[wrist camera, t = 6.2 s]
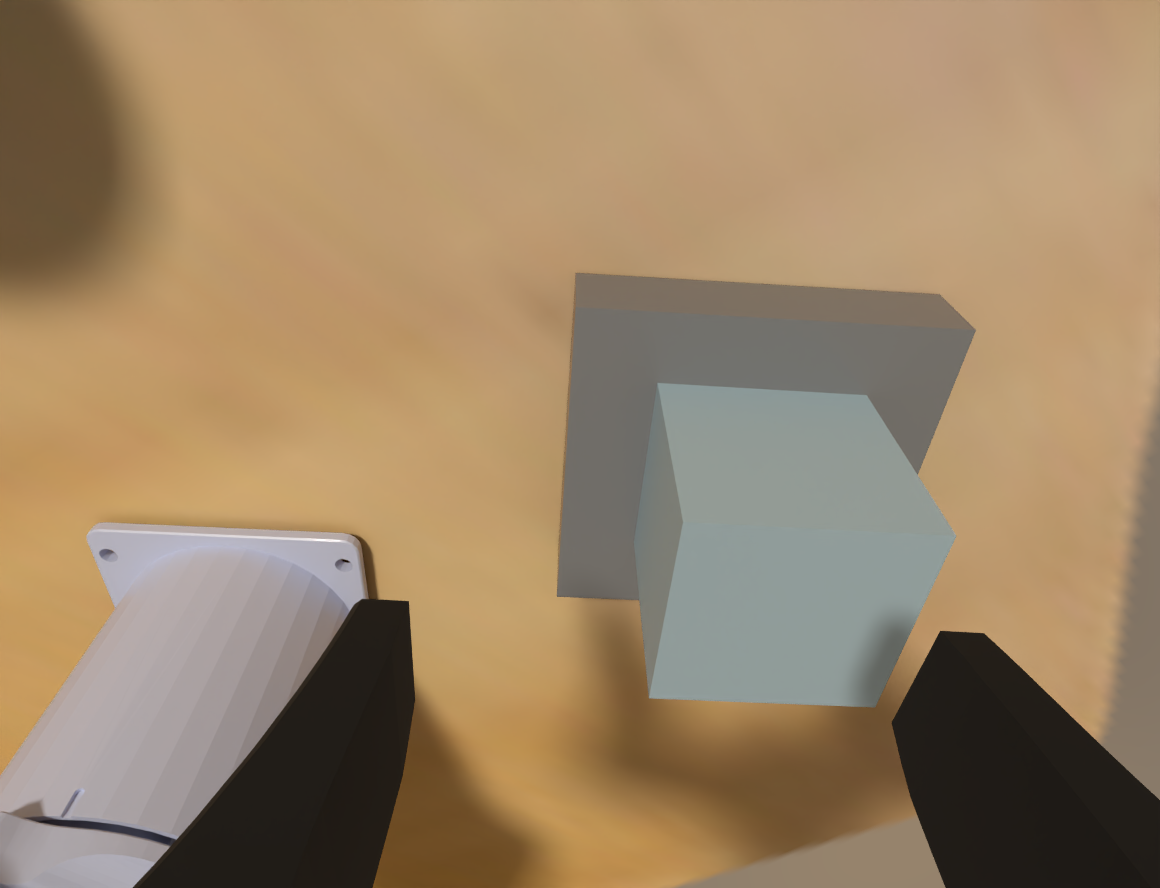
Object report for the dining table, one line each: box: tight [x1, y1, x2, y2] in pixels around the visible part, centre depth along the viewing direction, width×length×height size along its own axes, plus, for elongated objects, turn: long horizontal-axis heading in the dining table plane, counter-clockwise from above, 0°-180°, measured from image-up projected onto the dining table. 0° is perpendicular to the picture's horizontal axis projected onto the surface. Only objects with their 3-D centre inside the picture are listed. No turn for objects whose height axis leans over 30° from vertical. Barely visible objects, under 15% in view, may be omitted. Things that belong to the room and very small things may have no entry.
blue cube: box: [634, 383, 956, 707], centre depth 17 cm, size 5×5×5 cm
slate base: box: [557, 273, 976, 600], centre depth 20 cm, size 9×9×2 cm
